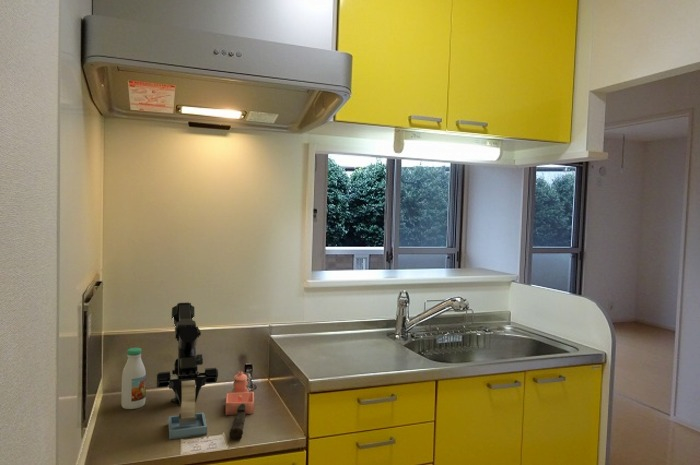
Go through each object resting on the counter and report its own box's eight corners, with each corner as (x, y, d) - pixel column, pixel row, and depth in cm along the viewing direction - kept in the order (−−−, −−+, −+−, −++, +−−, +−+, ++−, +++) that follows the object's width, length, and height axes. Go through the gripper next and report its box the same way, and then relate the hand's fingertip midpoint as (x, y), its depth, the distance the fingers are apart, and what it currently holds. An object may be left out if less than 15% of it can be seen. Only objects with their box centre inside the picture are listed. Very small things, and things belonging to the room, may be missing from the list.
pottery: (253, 414, 166) (254, 386, 166) (225, 415, 164) (226, 387, 164) (253, 394, 184) (253, 368, 183) (227, 395, 182) (228, 369, 181)
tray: (168, 424, 156) (168, 416, 156) (203, 419, 160) (203, 412, 160) (169, 439, 146) (169, 431, 145) (206, 434, 150) (207, 426, 150)
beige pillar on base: (178, 419, 154) (179, 380, 153) (195, 417, 156) (196, 379, 155) (179, 425, 150) (180, 386, 149) (196, 423, 151) (197, 384, 151)
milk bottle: (121, 411, 164) (122, 353, 163) (120, 402, 171) (121, 347, 170) (146, 407, 167) (147, 351, 166) (144, 399, 174) (145, 345, 173)
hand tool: (242, 441, 147) (242, 426, 147) (228, 441, 146) (229, 426, 146) (250, 415, 166) (251, 401, 165) (239, 414, 165) (239, 401, 165)
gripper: (157, 347, 152) (156, 395, 142) (218, 343, 159) (221, 388, 149) (156, 364, 159) (156, 410, 150) (215, 359, 166) (217, 403, 157)
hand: (188, 402), depth 151 cm, fingers closed on beige pillar on base, 4 cm apart
